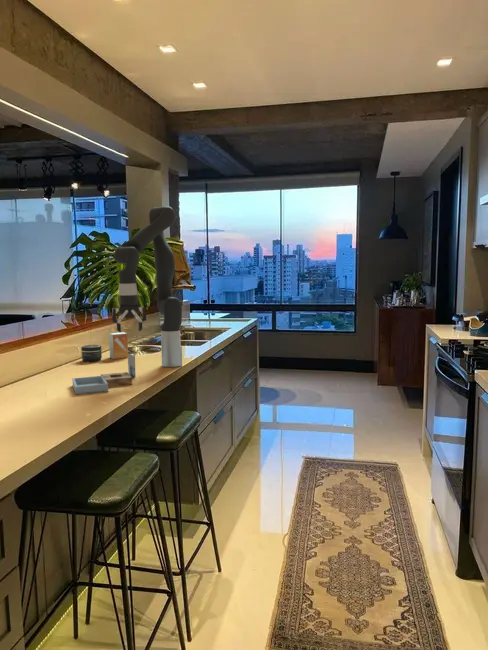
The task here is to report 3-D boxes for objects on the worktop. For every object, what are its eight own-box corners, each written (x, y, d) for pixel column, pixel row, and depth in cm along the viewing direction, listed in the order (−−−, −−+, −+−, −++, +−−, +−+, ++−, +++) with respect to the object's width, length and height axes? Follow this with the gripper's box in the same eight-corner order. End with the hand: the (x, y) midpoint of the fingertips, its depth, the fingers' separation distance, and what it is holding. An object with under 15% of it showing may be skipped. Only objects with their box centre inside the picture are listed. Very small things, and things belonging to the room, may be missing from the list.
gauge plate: (127, 378, 216) (127, 372, 215) (131, 384, 205) (131, 377, 205) (101, 381, 211) (100, 374, 211) (104, 387, 201) (104, 380, 201)
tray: (103, 382, 209) (102, 375, 209) (108, 391, 195) (107, 384, 194) (72, 385, 205) (72, 378, 204) (75, 394, 190) (75, 387, 190)
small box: (113, 359, 260) (112, 334, 258) (109, 357, 265) (108, 333, 263) (128, 357, 264) (127, 333, 262) (124, 355, 269) (123, 331, 268)
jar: (106, 359, 260) (105, 344, 259) (94, 363, 251) (93, 348, 250) (89, 358, 264) (89, 343, 263) (77, 361, 254) (76, 347, 253)
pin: (134, 376, 221) (134, 353, 220) (136, 377, 218) (135, 354, 217) (128, 376, 220) (127, 354, 218) (129, 378, 217) (128, 355, 216)
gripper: (143, 293, 221) (144, 329, 223) (110, 294, 215) (111, 331, 217) (146, 293, 214) (147, 331, 216) (112, 295, 208) (114, 333, 210)
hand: (129, 331), depth 216 cm, fingers open, 8 cm apart
